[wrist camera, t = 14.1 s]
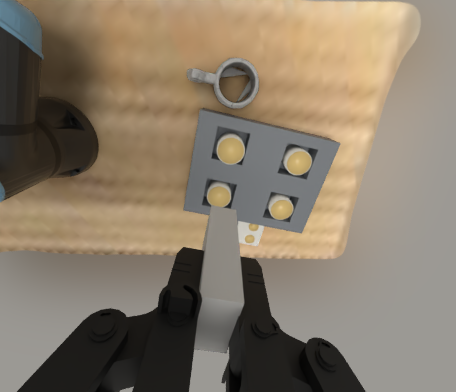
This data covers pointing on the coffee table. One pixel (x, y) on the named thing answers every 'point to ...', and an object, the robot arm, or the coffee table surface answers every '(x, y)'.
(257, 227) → the card
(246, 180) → the console
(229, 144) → the button
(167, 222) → the coffee table surface
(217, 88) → the mug
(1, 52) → the robot arm
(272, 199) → the button
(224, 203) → the button
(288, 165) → the button
